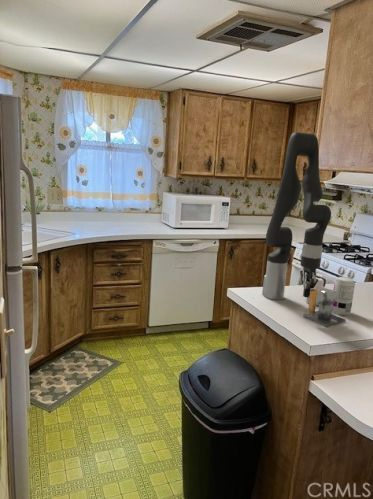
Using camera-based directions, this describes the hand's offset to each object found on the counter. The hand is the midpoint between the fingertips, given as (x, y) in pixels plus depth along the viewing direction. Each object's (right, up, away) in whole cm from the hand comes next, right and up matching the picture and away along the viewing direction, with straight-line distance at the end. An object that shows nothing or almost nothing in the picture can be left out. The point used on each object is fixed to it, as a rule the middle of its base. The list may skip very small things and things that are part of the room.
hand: (306, 296), depth 164 cm
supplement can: (+19, -8, +13) cm, 24 cm away
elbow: (+6, -5, 0) cm, 8 cm away
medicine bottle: (+11, -6, +23) cm, 26 cm away
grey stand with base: (+8, -10, +3) cm, 13 cm away
